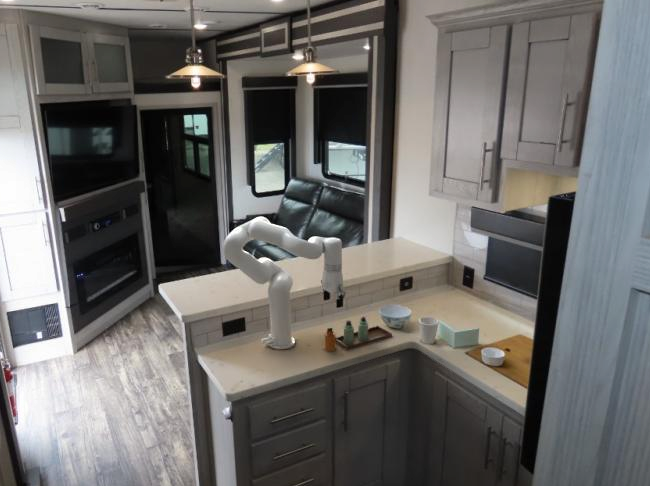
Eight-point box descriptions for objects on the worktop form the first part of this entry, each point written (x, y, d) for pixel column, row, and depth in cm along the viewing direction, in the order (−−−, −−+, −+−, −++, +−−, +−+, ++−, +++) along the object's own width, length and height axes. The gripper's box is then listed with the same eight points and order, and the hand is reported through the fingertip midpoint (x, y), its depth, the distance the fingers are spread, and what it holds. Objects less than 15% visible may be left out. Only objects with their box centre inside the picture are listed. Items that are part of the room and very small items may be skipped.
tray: (346, 350, 224) (346, 346, 223) (333, 341, 233) (333, 337, 232) (391, 337, 234) (392, 333, 234) (377, 329, 243) (377, 325, 243)
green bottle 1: (347, 346, 227) (347, 324, 224) (341, 341, 231) (341, 320, 228) (355, 343, 229) (355, 322, 226) (349, 339, 233) (349, 318, 230)
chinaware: (379, 331, 240) (380, 316, 238) (378, 318, 254) (378, 304, 252) (412, 333, 237) (413, 317, 235) (409, 319, 252) (409, 305, 250)
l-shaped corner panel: (478, 344, 224) (479, 328, 222) (453, 347, 222) (454, 332, 220) (461, 332, 236) (462, 317, 234) (438, 336, 233) (439, 321, 231)
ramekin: (477, 362, 209) (477, 352, 208) (485, 354, 215) (486, 345, 214) (499, 369, 203) (500, 359, 202) (507, 361, 209) (508, 351, 208)
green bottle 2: (361, 341, 230) (362, 320, 228) (355, 337, 234) (355, 316, 232) (370, 339, 232) (370, 318, 230) (363, 335, 236) (364, 314, 234)
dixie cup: (435, 346, 224) (436, 326, 221) (416, 342, 228) (416, 322, 225) (439, 339, 230) (440, 318, 228) (421, 335, 235) (422, 315, 232)
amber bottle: (328, 352, 223) (328, 330, 220) (322, 348, 227) (322, 326, 224) (337, 349, 225) (337, 328, 222) (331, 345, 229) (331, 324, 226)
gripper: (314, 262, 225) (315, 298, 229) (337, 273, 210) (337, 312, 214) (328, 259, 228) (328, 295, 232) (352, 270, 213) (352, 308, 217)
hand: (333, 303), depth 223 cm, fingers open, 9 cm apart
